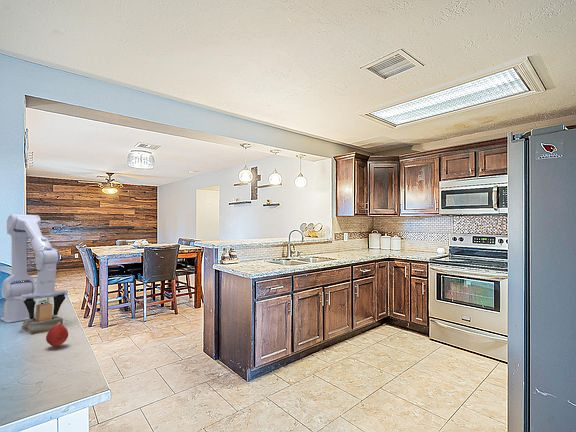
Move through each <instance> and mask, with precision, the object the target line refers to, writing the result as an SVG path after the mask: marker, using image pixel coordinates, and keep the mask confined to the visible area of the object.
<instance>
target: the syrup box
mask: <svg viewBox="0 0 576 432" xmlns="http://www.w3.org/2000/svg"><path fill="white" fill-rule="evenodd" d="M30 276H31V277H33V278H34V283H35V292H34V293H36V286H37V274H33V275H30ZM40 297H42V296H40ZM49 298H50V297H46V298H38V299H33V300H34V301H35V302H36V303H35V304H41V303H43V304H45V302H48V303H49V300H50V299H49Z"/></svg>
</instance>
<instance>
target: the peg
mask: <svg viewBox="0 0 576 432" xmlns="http://www.w3.org/2000/svg"><path fill="white" fill-rule="evenodd" d="M35 306H36V309H35V317H36V318H35V317H34V318H35V321H36V322H40V321H46V320H51V319H52V315H53V310H54V303H53V304H52V303H49V302H48V303H43V304H38V305H35Z"/></svg>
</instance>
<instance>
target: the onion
mask: <svg viewBox="0 0 576 432" xmlns="http://www.w3.org/2000/svg"><path fill="white" fill-rule="evenodd" d="M45 336H46V337H45V341H46V343H47V344H48V345H49V346H52V347H54V348H60V346H62V344H64V343H65V342H66V341H67V340H68V337H69V330H68V329H67V327H65V325H64V326H62V325H61V323H60V322H59V323H57V324H56V325H55V326H54V327H52V328H51V329H50V330H49V331H47V333H46V335H45Z"/></svg>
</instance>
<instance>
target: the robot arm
mask: <svg viewBox="0 0 576 432" xmlns="http://www.w3.org/2000/svg"><path fill="white" fill-rule="evenodd" d="M41 221H42V220H41V217H40V215H38V214H20V213H19V214H17V213H10V214H9V216H8V217H7V219H6V235H7V234H8V235H9V236H11V238H10V239H11V274H10V275H9V276H8V277H6V278H5V279H4V280H3V281H2V286H1V292H0V293H1V296H2V298H3V299H5V302H4V305H3V317H0V320H1V321H3V322H5V323H7V324H8V323H9V324H10V323H15V322H21V321H22V322H23V321H24V319H29V318H30V319H34V318H35V306H36V305H35V303H36V302H35V301H34V300H33V299H38V298H46V297H49V298H52V299H53V309H52V315H56V316H58V315H59V314H58V313H59V311H60V309H61V306H62V305H63V302H64V301H65V300H66V296H68V293H69V290H68V289H60V290H59V289H58V290H56V289H55V288H56V275H57V274H56V273H57V264H59V263H60V262H61V252H60V251H59V249H57V248H55V247H54V248H53V246H52V244H51V243H50V240H49V239H48V237H45V236H44V235H43V234H42V231H41V228H40V227H41V223H42V222H41ZM28 237H29V238H30V240H31V242H30V246H31V248H32V250H33V252H34V254H35V257H34V261H35V262H34V263H35V269H36V270H37V274H36V275H37V286H36V293H34V292H35V283H34V278H33V277H31V276H32V275H30V274H28V271H27V270H28V269H27V267H28V266H27V265H28V260H27V259H28V257H27V253H28V252H27V247H28V245H27V243H28V242H27V238H28ZM40 296H42V297H40Z"/></svg>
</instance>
